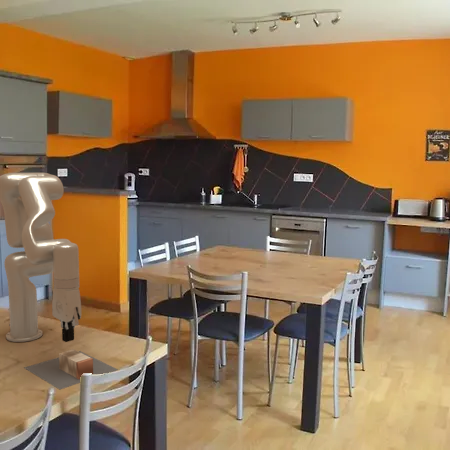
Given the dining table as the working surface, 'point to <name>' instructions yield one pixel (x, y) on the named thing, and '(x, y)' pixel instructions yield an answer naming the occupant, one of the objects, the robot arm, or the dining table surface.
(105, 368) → the mat
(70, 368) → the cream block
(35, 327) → the robot arm
